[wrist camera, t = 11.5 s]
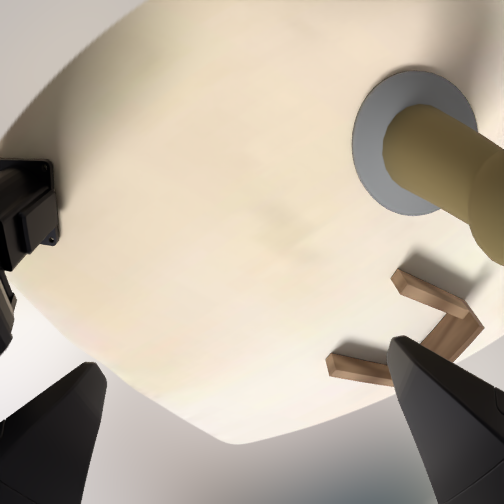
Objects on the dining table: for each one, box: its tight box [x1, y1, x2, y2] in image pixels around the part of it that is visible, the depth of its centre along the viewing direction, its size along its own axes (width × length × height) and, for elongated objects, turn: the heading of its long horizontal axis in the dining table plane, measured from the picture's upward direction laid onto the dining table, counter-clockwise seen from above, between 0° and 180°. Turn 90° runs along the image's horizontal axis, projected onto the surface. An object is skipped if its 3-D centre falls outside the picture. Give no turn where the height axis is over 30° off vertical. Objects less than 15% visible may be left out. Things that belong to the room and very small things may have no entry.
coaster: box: [352, 71, 478, 216], centre depth 18 cm, size 10×10×1 cm
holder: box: [326, 269, 484, 387], centre depth 25 cm, size 10×11×4 cm
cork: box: [382, 104, 504, 266], centre depth 13 cm, size 6×6×11 cm
